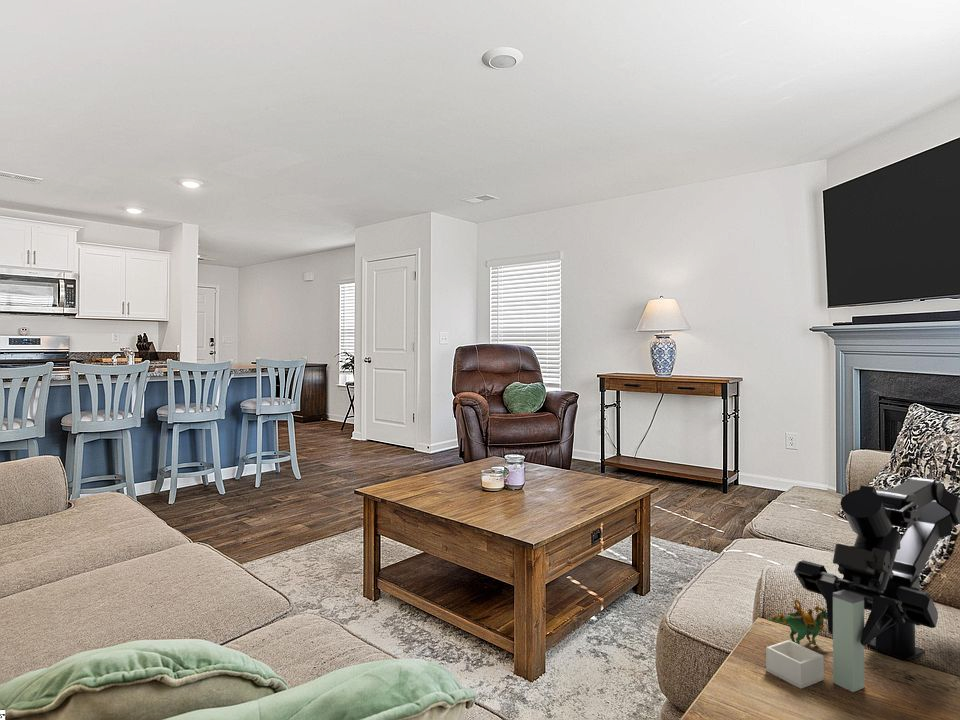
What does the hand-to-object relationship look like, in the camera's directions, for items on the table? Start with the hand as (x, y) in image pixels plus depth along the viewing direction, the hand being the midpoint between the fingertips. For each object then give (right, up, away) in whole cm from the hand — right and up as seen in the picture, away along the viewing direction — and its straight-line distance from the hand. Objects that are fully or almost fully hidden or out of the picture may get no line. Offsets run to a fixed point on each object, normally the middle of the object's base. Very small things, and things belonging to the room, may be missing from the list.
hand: (846, 638), depth 86 cm
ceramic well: (-6, -7, +3) cm, 10 cm away
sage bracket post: (+1, -7, 0) cm, 7 cm away
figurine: (0, -8, +13) cm, 15 cm away
